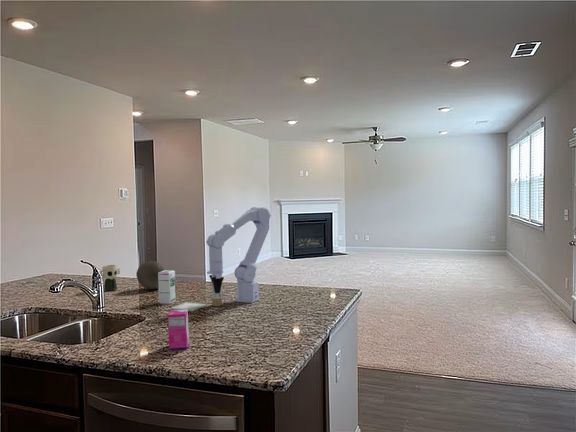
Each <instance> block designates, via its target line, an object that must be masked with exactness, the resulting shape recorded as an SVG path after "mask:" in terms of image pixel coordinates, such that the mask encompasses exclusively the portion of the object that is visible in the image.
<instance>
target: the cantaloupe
mask: <svg viewBox="0 0 576 432" xmlns="http://www.w3.org/2000/svg"><path fill="white" fill-rule="evenodd" d="M164 270H165V269H164V266H162V264H161V263H160V262H159V261H158V262H157V261H155V260H149V261H145V262H142V263H141V264H140V265H139V266H138V268H137V270H136V275H135V276H136V279H137V281H138V283H139V284H140V285H141V287H143V288H145V289H146V290H147V289H148V290H156V289H159V282H158V273H159V272H162V271H164Z"/></svg>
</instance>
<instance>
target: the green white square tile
mask: <svg viewBox="0 0 576 432" xmlns="http://www.w3.org/2000/svg"><path fill="white" fill-rule="evenodd" d="M206 306H207V303H199V302H187V301H185V302H183V303H180V304H178V305H175V306H172V307H170V310H188V312H194V311H196V310H199V309H201V308H204V307H206Z"/></svg>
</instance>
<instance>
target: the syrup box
mask: <svg viewBox="0 0 576 432" xmlns="http://www.w3.org/2000/svg"><path fill="white" fill-rule="evenodd" d="M158 282H159V288H158V300H159V302H158V303H159V304H164V305H167V304H168V305H169V304H172V303H175V302H177V292H176V291H177V290H176V270H173V269H171V270H170V269H169V270H167V269H166V270H165V269H164V271H162V272H159V273H158Z"/></svg>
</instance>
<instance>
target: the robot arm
mask: <svg viewBox="0 0 576 432" xmlns="http://www.w3.org/2000/svg"><path fill="white" fill-rule="evenodd" d="M271 216H272V215H271V213H270V211H269V209H268V208H267V207H257V206H253V207H251V208H250V209H247V210H246V211H245V212H244V213H243V214H242V215H241V216H240V217H238V218H237V219H236V220H235V221H234V222H233V223H226V224H223V225H222V227H221V228H220V229H219V230H216V231H215V232H214V233H212V234H209V236H208V237H207V240H206V244H207V246H208V257H209V258H208V259H209V271H208V270H207V271H206V273H207V275H208V276H209V278H210V282H211V283H212V282H213V286H214V291H215V293H220V290H221V285H222V284H223V281H224V279H225V277H224V276H222V277H221V275H223V274H224V270H223V269H224V267H223V263H224V262H223V247H224V245H225V242H227V241H228V240H229V239H230V238H232V237H233V236H234V235H236V232H237V230H238V229H240V228H241V227H243V226H244V225H246V224H247V223H249V222H253V224H254V226H255V227H256V230H255V233H254V235H253V237H252V240H251V242H250V244H249V247H248V250H247V252H246V254H245V256H244V259H243V260H241V261H240V262H239V264H238V266H237V267H236V268H235V270H234V277H235V278H236V282H237V283H236V285H237V289H236V291H237V299H234V301H233V302H237V303H249V304H253V303H255V302H257V301H259V300H260V295H259V294H260V287H259V283H258V282H257V281H254V280H255V278H256V271H257V268H258V267H257V265H256V264H257V263H256V262H257V260H258V257H259V255H260V252H261V250H262V248H263V245H264V242H265V240H266V237H267V235H268V233H269V231H270V220H271V219H270V218H271ZM212 275H216V276H215V277H212ZM222 286H223V285H222Z"/></svg>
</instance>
